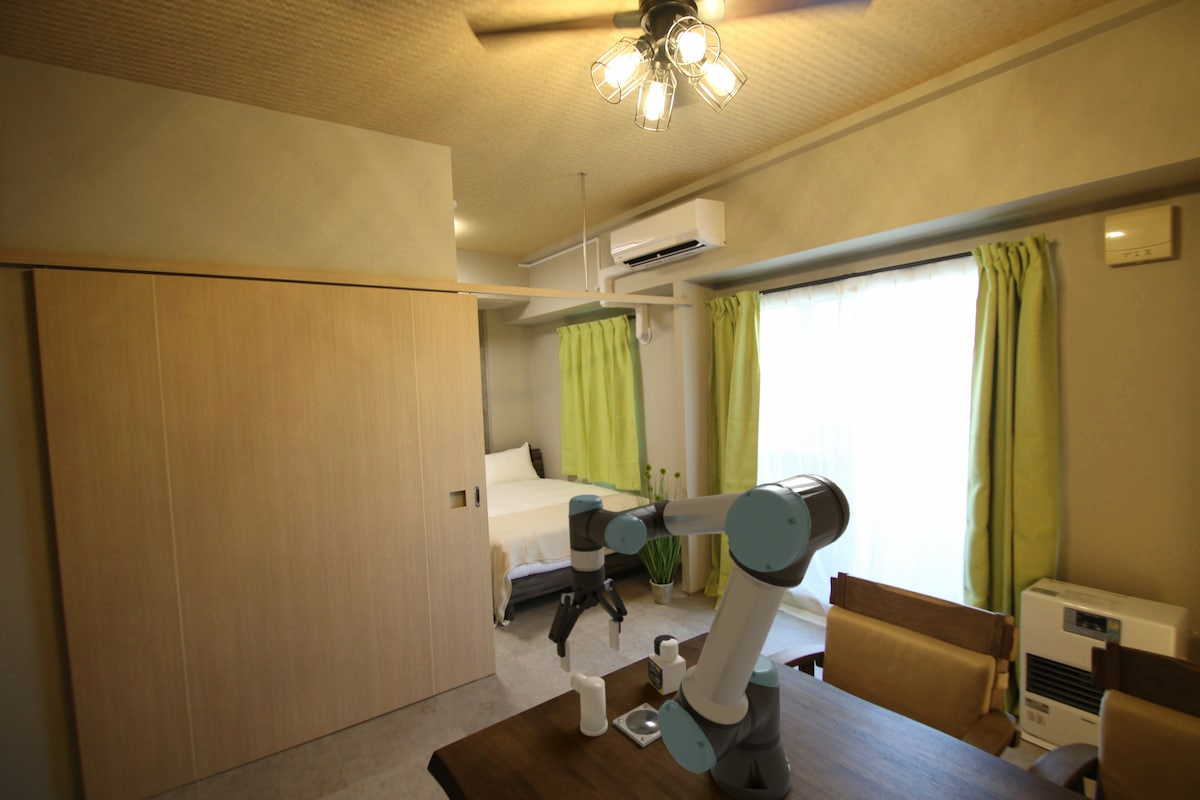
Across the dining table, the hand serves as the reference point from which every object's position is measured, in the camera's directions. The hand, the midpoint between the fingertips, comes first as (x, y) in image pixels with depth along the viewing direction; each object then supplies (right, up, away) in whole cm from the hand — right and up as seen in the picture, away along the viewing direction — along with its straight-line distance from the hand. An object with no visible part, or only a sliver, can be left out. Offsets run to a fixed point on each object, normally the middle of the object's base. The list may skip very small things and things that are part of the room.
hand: (590, 658), depth 118 cm
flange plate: (+12, -15, 0) cm, 19 cm away
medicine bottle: (+19, -15, +16) cm, 29 cm away
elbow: (0, -16, +2) cm, 16 cm away
